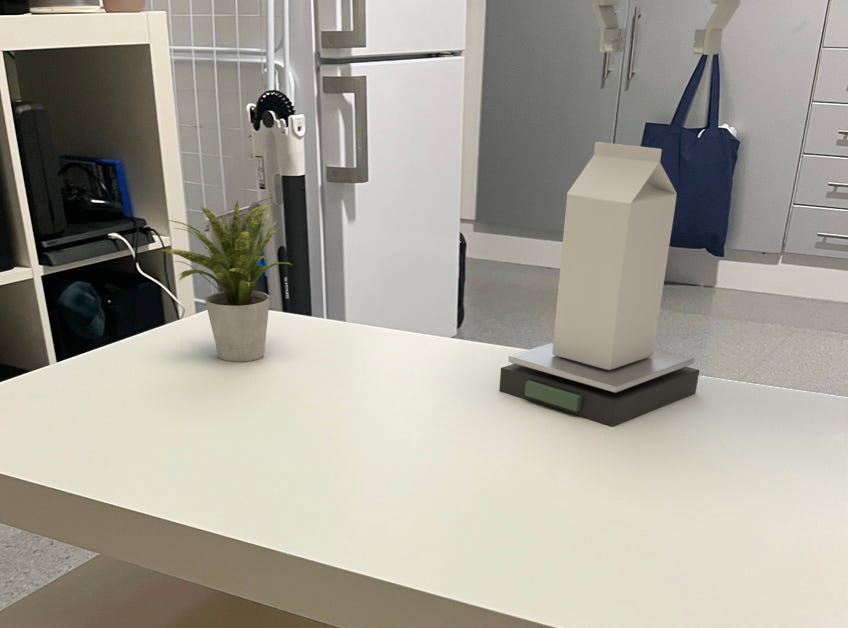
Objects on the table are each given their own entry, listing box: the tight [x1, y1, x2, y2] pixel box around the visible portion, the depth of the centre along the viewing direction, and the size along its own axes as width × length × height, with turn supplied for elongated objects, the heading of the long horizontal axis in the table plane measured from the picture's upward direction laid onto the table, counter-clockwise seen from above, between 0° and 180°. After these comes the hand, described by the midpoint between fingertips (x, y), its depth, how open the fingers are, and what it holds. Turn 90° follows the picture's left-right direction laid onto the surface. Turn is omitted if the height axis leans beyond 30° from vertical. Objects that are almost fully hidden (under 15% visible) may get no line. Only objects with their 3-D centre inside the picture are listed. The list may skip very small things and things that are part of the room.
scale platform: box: [507, 342, 695, 393], centre depth 101 cm, size 13×13×1 cm
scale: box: [498, 363, 700, 427], centre depth 102 cm, size 15×14×2 cm
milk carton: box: [552, 141, 677, 370], centre depth 96 cm, size 7×7×19 cm
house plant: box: [159, 200, 294, 363], centre depth 111 cm, size 14×14×16 cm
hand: (656, 53), depth 86 cm, fingers open, 8 cm apart
